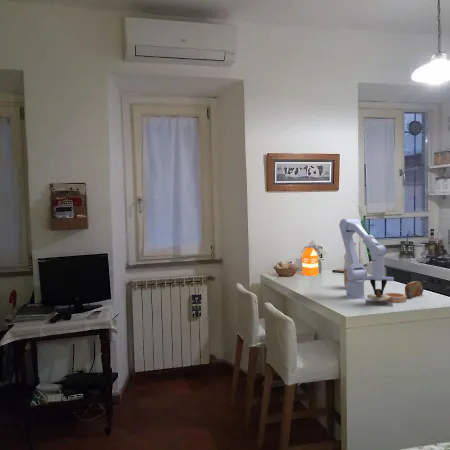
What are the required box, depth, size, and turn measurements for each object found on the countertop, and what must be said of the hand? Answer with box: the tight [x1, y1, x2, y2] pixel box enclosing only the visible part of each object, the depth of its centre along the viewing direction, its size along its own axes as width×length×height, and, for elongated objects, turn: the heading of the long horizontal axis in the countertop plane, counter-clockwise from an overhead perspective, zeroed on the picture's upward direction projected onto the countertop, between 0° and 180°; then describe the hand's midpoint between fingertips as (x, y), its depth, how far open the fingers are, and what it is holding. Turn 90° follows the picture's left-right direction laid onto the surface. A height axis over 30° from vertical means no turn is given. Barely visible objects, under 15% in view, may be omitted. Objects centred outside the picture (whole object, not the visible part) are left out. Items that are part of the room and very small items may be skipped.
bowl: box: [383, 292, 408, 304], centre depth 213 cm, size 11×11×3 cm
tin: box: [404, 280, 424, 299], centre depth 219 cm, size 15×3×8 cm, turn 126°
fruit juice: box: [343, 242, 361, 290], centre depth 246 cm, size 9×9×28 cm
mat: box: [365, 298, 394, 308], centre depth 208 cm, size 13×13×1 cm
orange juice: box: [301, 247, 319, 277], centre depth 299 cm, size 8×9×20 cm
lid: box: [366, 288, 390, 300], centre depth 208 cm, size 11×11×4 cm
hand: (378, 294), depth 208 cm, fingers closed on lid, 3 cm apart
